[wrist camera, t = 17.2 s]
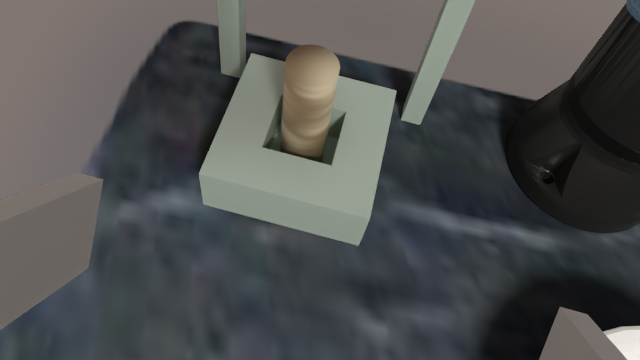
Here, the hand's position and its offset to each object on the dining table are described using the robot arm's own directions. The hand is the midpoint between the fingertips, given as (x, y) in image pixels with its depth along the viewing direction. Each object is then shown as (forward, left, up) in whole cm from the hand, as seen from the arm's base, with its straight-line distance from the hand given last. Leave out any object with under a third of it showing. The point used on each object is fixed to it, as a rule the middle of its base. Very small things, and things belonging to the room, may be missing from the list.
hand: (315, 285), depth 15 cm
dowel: (+4, -22, -26) cm, 35 cm away
